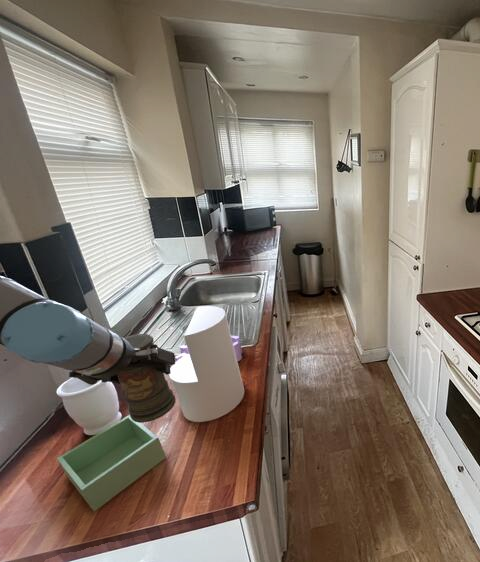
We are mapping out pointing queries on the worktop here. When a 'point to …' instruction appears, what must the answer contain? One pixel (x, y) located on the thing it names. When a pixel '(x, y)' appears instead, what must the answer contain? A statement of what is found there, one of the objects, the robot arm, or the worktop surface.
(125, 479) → the tub
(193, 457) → the worktop surface
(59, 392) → the jar
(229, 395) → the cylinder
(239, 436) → the worktop surface
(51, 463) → the worktop surface
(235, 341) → the clip
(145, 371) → the container
